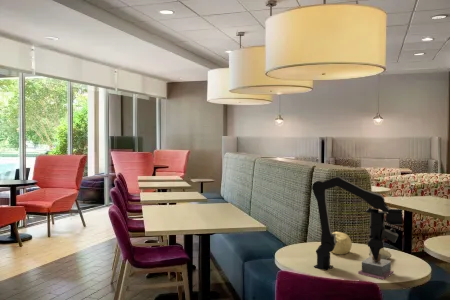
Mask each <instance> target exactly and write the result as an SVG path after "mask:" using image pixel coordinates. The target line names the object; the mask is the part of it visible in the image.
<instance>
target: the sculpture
mask: <svg viewBox="0 0 450 300" xmlns="http://www.w3.org/2000/svg"><path fill="white" fill-rule="evenodd" d="M334 233H336V241H337V243H336V245H335V247H334V249H333V251H332V252H331V253H333V254H335V255H345V254H347V253H350V252H351V249H352V239H351V238H350V236H349V235H348V234H347V233H345V232H342V231H334V232H332V234H334Z"/></svg>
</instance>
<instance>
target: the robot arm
mask: <svg viewBox="0 0 450 300" xmlns="http://www.w3.org/2000/svg"><path fill="white" fill-rule="evenodd" d="M335 187H339V188H340V189H343V190H345V191H347V192H349V193H350V194H352V195H355V196H356V197H358V198H360V199H362V200H363V201H364V202H365V203H367V204H368V205H369V207H368V208H367V209H366V210H365V213H369V215H370V216H369V217H370V218H369V239H368V241H367V247H368V248H370V250H371V252H372V254H373V257H374V259H375V260H378V256H379V251H380V249H381V248H384V246H385V241H384V240H385V239H386V240H389V242H392V243H396V241H397V240H398V237H399V234H398V233H397V232H396V229H394V228H390V229H386V227H385V226H386V225H385V222H386V223H388V225H395V226H403V225H404V224H403V223H404V216H403V209H402V208H389V206H388V205H387V203H386V202H385V201H386V200H385V197H384V195H383V194H381V193H377V192H374V191H371V190H367V189H365V188H362V187H360V186H358V185H357V184H354V183H352V182H351V181H348V180H346V179H344V178H343V177H342V176H339V175H337V176H335V177H332V178H329V179H326V180H323V179H318V180H316V181H314V182H313V183H312V185H311V190H312V191H313V196H314V197H315V200H316V202H317V208H318V216H319V221H320V222H319V223H320V228H321V229H320V230H321V236H320V245H318V247H317V248H316V251H315V252H316V264H315V265H314V266H313V267H314V268H317V269H320V270H324V271H327V270H330V269H333V268H334V265H331V253H333V252H332V251H333V249H334V247H335V245H336V243H337V241H336V233H334V234H332V233H333V232H332V229H331V222H330V218H329V217H330V215H329V211H328V202H327V197H328V190H330V189H332V188H335Z"/></svg>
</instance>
